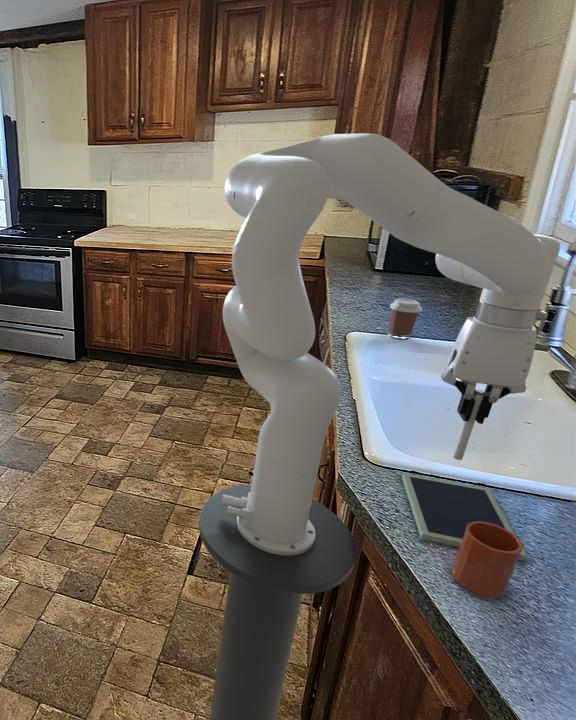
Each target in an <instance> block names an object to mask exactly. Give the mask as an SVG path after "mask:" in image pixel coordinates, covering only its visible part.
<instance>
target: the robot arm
mask: <svg viewBox="0 0 576 720" xmlns="http://www.w3.org/2000/svg"><path fill="white" fill-rule="evenodd" d="M224 194H225V199H226V201H227V204H228V205H229V207H230V208H231V209H232V210H233V211H234V212H235V213H237V215H240V216H241V217H244V218H245V220H244V222H243V224H242V226H241V228H240V230H239V233H238V234H237V236H236V239H235V242H234V245H233V248H232V253H231V255H232V256H231V269H232V274H233V279H234V282H235V286H234V287H232V288H231V290H229V292H228V294H227V295H226V297H225V299H224V302H223V307H222V323H223V326H224V329H225V332H226V335H227V338H228V341H229V343H230V346H231V350H232V352H233V355H234V357H235V360H236V363H237V365H238V369H239V370H240V373H241V375H242V377H243V379H244V380H245V381H246V383H247V384H248V385H249V386H250V387H251V388H252V389H254V390H255V392H257V394H259V395H260V396H261V397H262V398H263V399H264V400H265V401H266V402H267V403H268V404H269V405H270V413H269V414H268V416H267V418H266V419H265V420H264V422H263V423H262V425H261V427H260V430H259V433H258V437H257V438H258V439H257V444H256V445H257V447H256V453H255V460H254V466H253V472H252V473H253V474H252V481H251V485H252V486H251V492H249V493H248V498H246V497H242V499H240V498H236V497H233V496H228V495H223V497H222V504H221V505H222V506H227V507H228V509H227V514H229V515H233V516H234V515H235V516H238V517H237V526H238V529H239V531H240V533H241V535H242V536H243V537H244V538H245V539H246V540H247V541H248V542H249V543H251V544H252V545H254V546H255V547H257V548H259V549H261V550H263V551H266V552H269V553H272V554H277V555H284V556H288V555H298V554H301V553H304V552H306V551H308V550H309V549H310V548H311V547H312V546H313V544H314V541H315V535H316V534H315V529H314V527H313V525H312V523H311V522H310V520H309V519H308V518H309V513H310V508H311V503H312V499H314V492H315V487H316V484H317V478H318V473H319V467H320V464H321V459H322V458H321V457H322V454H323V453H322V452H323V450H324V449H323V448H324V444H325V440H326V436H327V434H328V429H329V427H330V424H331V422H332V419H333V418H334V416H335V413H336V412H337V409H338V407H339V405H340V401H341V398H342V387H341V382H340V380H339V378H338V377H337V375H336V374H335V372H334V371H333V370H332V369H331V368H330V367H329V366H328V365H327V364H325V363H324V362H323V361H321V360H319V359H318V358H317V357H315V356H313V355H312V354H310V353H309V351H310V350H311V348H312V346H313V345H314V342H315V339H316V323H315V319H314V318H315V317H314V315H313V312H312V311H313V310H312V308H311V303H310V300H309V297H308V293H307V290H306V286H305V283H304V279H303V274H302V269H301V263H300V252H301V247H302V244H303V242H304V240H305V237H306V236H307V234H308V232H309V230H310V229H311V227H312V226H313V224H314V223H315V222H316V220H317V219H318V217H319V216H320V214H321V213H322V212H323V210H324V207H325V205H326V203H327V200H328V199H334V200H341V201H343V202H345V203H347V204H349V205H350V206H352V207H354V208H355V209H356V210H357V211H359V212H360V213H362V214H363V215H365V216H366V217H367V218H368V219H371V221H372V222H374V223H375V224H377V225H379V226H380V227H381V228H382V229H384V230H385V231H387V233H389V234H390V235H391V236H393V237H394V238H396V239H397V240H399V241H401V242H404V243H406V244H409V245H410V246H413V247H415V248H417V249H421V250H424V251H426V252H430V253H433V254H435V258H434V259H435V260H434V261H435V264H436V268H437V270H438V271H439V272H440V273H441V274H442V275H443V276H444V277H446V278H448V279H450V280H453V281H456V282H457V283H458V282H459V283H461V284H466V285H469V286H473V287H477V288H481V293H480V297H479V300H478V303H477V307H476V310H475V312H474V315H473V316H468V317H467V318H466V320H465V322H464V323H463V325H462V326H461V329H460V330H459V333H458V334H457V337H456V339H455V341H454V344H453V346H452V349H451V351H450V354H449V357H448V359H447V363H446V369H445V370H444V371H443V373H442V374H441V376H440V378H441V380H442V381H443V382H444V383H446V384H447V385H450V386H452V387H455V388H456V389H457V390H458V392H459V393H460V394H461V396H460V399H459V402H458V405H457V409H456V411H457V414H458V415H459V417H460V418H461V420H462V421H463V422H464V421H466V422H467V421H469V419H470V416H471V413H472V410H473V407H474V404H475V400H474V399H473V398H474V391H475V389H476V386H477V384H482V385H486V387H485V388H484V390H483V391H484V392H485V393H484V396H483V399H482V402H481V405H480V408H479V411H478V414H477V417H476V420H475V422H476V423H478V424H479V425H483V424H484V422H485V419H488V418H489V416H490V413H491V410H492V407H493V404H496V403H497V402H498V401H499V400H500V399H501V398H504V397H507V396H508V395H512V394H523V393H525V392H526V390H527V386H526V385H527V384H526V381H527V379H528V376H529V373H530V370H531V367H532V363H533V358H534V354H535V349H536V341H537V328H536V327H535V326H536V323H537V322H539V321H543V322H544V321H546V320H547V319H548V316H549V314H548V312H547V311H542V310H541V309H540V307H541V304H542V302H543V299H544V296H545V293H546V291H547V288H548V285H549V282H550V279H551V277H552V273H553V271H554V268H555V265H556V263H557V259H558V257H559V254H560V250H561V245H560V241H558V239H556V238H554V237H551V236H547V235H541V234H534V233H533V232H532V231H530V230H529V229H528V228H526V227H525V226H524V225H522V224H521V223H520V222H518V221H516V220H515V219H513V218H512V217H510V216H508V215H506V214H504V213H502V212H500V211H498V210H496V209H494V208H492V207H490V206H488V205H486V204H483V203H481V202H480V201H477V200H476V199H474V198H472V197H470V196H468V195H466V194H465V193H462V192H460V191H458V190H455V189H453V188H451V187H450V186H448V185H447V184H445V183H444V182H443V181H442V180H440V179H439V178H438V177H437V176H436V175H434V174H433V173H432V172H431V171H429V170H428V169H427V168H426V167H424V166H423V165H422V164H421V163H420V162H418V161H417V160H416V159H415V158H414V157H413V156H411V154H409V153H408V152H407V151H406V150H404V149H403V148H402V147H401V146H399V145H398V144H397V143H396V142H395V141H393V140H392V139H390V138H389V137H386V136H383V135H381V134H377V133H369V132H368V133H367V132H366V133H365V132H364V133H363V132H362V133H361V132H360V133H334V134H327V135H323V136H319V137H314V138H311V139H308V140H304V141H300V142H296V143H292V144H289V145H284V146H281V147H277V148H273V149H268V150H266V151H261V152H257V153H254V154H251V155H248V156H246V157H244V158H242V159H240V160H239V161H238V162H237V163H236V164H235V165H234V166H233V167H232V168H231V169H230V171H229V173H228V175H227V178H226V180H225V185H224Z"/></svg>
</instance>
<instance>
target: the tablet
mask: <svg viewBox="0 0 576 720" xmlns="http://www.w3.org/2000/svg"><path fill="white" fill-rule="evenodd" d="M401 480H402V483H403V486H404V489H405V492H406V495H407V497H408V502H409V505H410V508H411V511H412V514H413V517H414V521H415V523H416V527H417V530H418V534H419V537H420V539H421V540H424V541H429V542H433V543H439V544H443V545H447V546H452V547H457V548H459V547H460V544H461V541H462V539H463V536H464V533H465V530H466V527H467V525H468V524H469V523H471V522H477V521H480V522H488V523H491V524H495V525H497V526H500V527H502V528H504V529H506V530H508V531H509V532H511V533H513V534H514V535H515V536H516V534H515V533H514V531H513V528H512V526H511V525H510V523H509V521H508V520H507V518H506V517H505V515H504V513H503V511H502V509H501V507H500V505H499V504H498V501H497V500H496V498H495V497H494V495H493V493H492V491H491V489H490V488H487V487H482V486H477V485H471V484H466V483H461V482H454V481H450V480H449V481H448V480H443V479H437V478H432V477H426V476H423V475H422V476H421V475H416V474H410V473H405V472H403V473H402V474H401ZM527 557H528V556H527V554H526V552H525V550H524V547H522V551H521V554H520V556H519V559H518V561H521V562H525V561H526V559H527Z"/></svg>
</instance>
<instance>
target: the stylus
mask: <svg viewBox="0 0 576 720" xmlns="http://www.w3.org/2000/svg"><path fill="white" fill-rule="evenodd" d="M484 391H485V390H482V389H476V388H475V391H474V398H473V399H474V400H475V404H474V407H473V410H472V413H471V416H470V419H469V421H467V422H466V421H463V425H462V427H461V430H460V434H459V436H458V439H457V444H456V446H455V449H454V452H453V455H452V458H454V459H455V460H457V461H462V460H463V458H464V455H465V452H466V449H467V446H468V444H469V441H470V437H471V435H472V431H473V429H474V425H475V422H476V417H477V414H478V411H479V408H480V405H481V402H482V399H483V396H484V393H485V392H484Z"/></svg>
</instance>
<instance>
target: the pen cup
mask: <svg viewBox="0 0 576 720" xmlns="http://www.w3.org/2000/svg"><path fill="white" fill-rule="evenodd" d="M514 534H515V533H514ZM514 534H513V533H511V532H509V531H508V530H506V529H504V528H502V527H500V526H497V525H495V524H491V523H488V522H480V521H477V522H471V523H469V524H468V525H467V527H466V530H465V533H464V536H463V539H462V541H461V544H460V547H458V549H457V553H456V556H455V559H454V562H453V565H452V568H451V574H452V578H453V579H454V580H455V581H456V582H457V584H458V585H460V586H461V587H462V588H464V589H466V590H467V591H468V592H470V593H472V594H475V595H477V596H481V597H484V598H488V599H497V598H500V597H502V596H504V594H505V592H506V590H507V588H508V586H509V583H510V581H511V578H512V576H513V574H514V572H515V571H514V570H515V569H516V566H517V564H518V561H519V560H518V559H519V556H520V554H521V551H522V548H524V547H523V546H524V545H523V543H522V541H521V540H520V539H519V538H518V537H517V536H516V534H515V535H514Z"/></svg>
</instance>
